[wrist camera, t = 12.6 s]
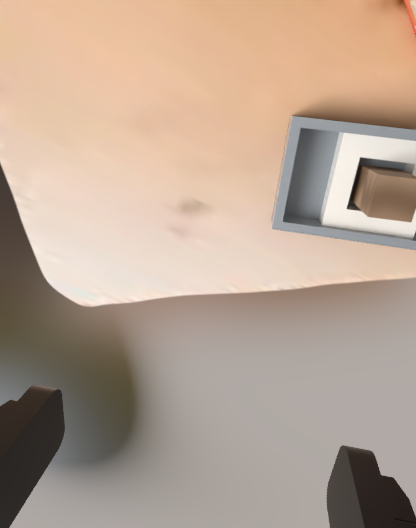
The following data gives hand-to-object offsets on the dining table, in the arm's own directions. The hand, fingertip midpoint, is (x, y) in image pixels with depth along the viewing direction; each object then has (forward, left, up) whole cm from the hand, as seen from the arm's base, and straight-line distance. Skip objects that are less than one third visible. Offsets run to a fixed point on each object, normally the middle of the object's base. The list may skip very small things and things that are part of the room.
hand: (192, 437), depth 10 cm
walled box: (-3, +14, -37) cm, 40 cm away
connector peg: (-3, +14, -36) cm, 39 cm away
